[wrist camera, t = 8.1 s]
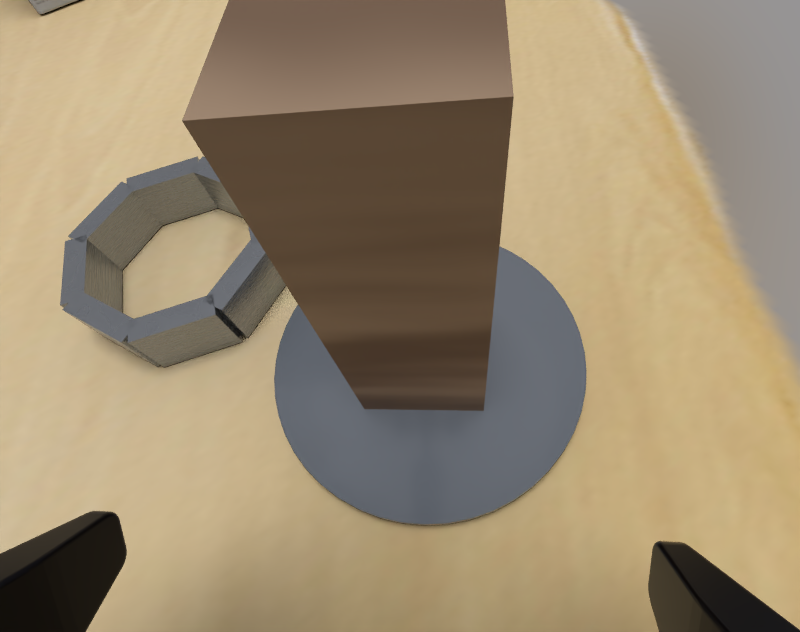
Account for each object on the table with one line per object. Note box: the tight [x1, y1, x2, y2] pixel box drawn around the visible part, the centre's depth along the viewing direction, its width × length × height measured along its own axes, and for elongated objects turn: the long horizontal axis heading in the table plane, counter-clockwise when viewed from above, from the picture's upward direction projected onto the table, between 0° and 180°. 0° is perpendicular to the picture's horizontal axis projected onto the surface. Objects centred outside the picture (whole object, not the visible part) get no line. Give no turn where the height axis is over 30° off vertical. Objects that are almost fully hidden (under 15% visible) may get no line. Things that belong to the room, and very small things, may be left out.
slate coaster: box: [274, 247, 586, 525], centre depth 19 cm, size 12×12×1 cm
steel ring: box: [60, 157, 286, 367], centre depth 22 cm, size 9×9×2 cm
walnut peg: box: [182, 0, 513, 411], centre depth 13 cm, size 4×4×13 cm
